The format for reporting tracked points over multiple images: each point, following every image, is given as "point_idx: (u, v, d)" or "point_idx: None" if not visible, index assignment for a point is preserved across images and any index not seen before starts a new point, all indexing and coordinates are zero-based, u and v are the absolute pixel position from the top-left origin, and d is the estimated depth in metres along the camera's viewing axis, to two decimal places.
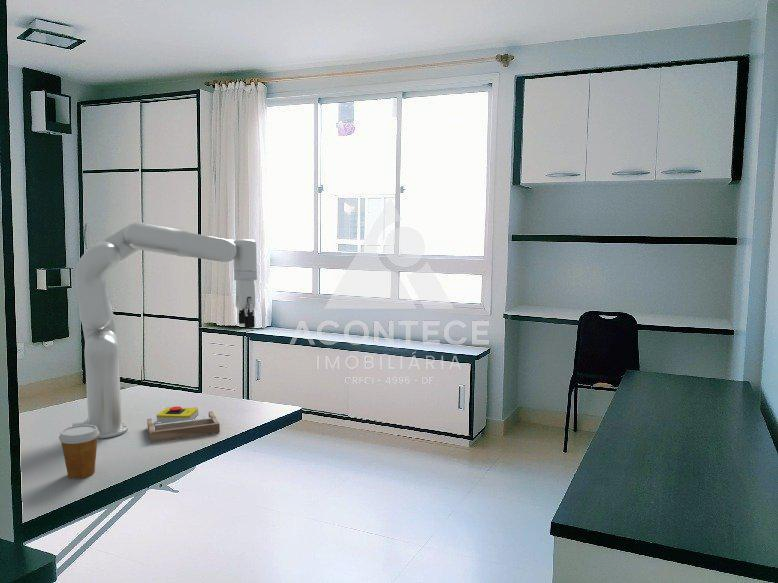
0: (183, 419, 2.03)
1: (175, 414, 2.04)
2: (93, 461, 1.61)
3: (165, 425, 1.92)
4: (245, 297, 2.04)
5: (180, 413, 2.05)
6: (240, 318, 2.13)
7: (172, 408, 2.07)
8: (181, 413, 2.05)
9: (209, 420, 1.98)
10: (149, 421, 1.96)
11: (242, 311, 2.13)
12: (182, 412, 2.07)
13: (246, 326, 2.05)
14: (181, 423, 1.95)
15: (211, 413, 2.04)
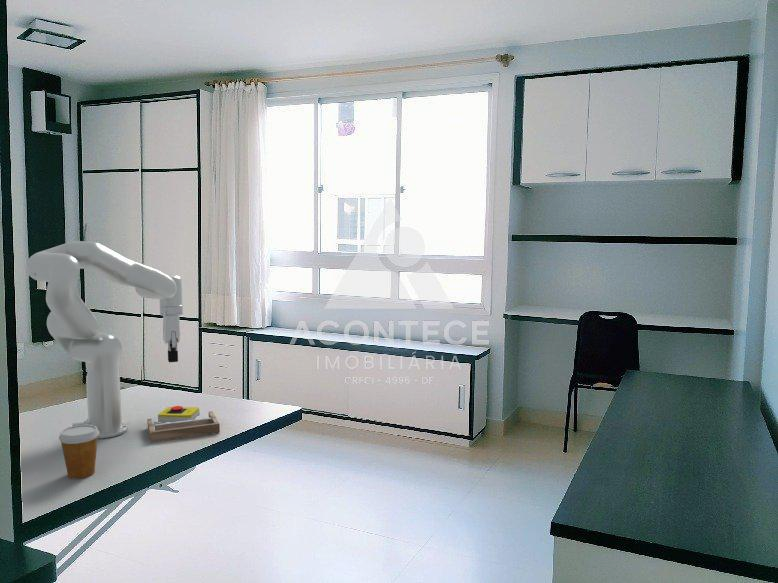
0: (184, 418, 2.04)
1: (176, 413, 2.05)
2: (93, 461, 1.61)
3: (165, 425, 1.92)
4: (169, 332, 2.12)
5: (182, 413, 2.06)
6: None
7: (173, 407, 2.08)
8: (182, 413, 2.06)
9: (209, 420, 1.98)
10: (149, 421, 1.96)
11: None
12: (183, 411, 2.07)
13: (170, 360, 2.17)
14: (181, 423, 1.95)
15: (211, 413, 2.04)
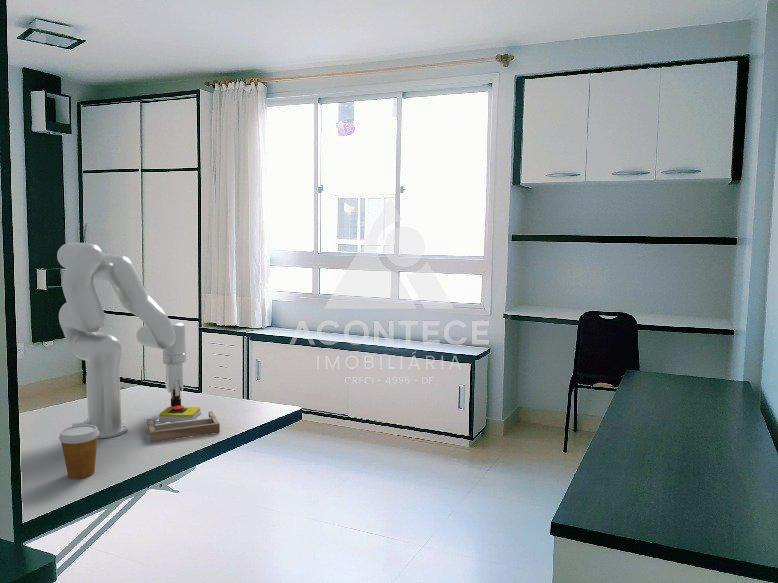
0: (186, 418, 2.04)
1: (178, 413, 2.05)
2: (93, 461, 1.61)
3: (165, 425, 1.92)
4: (173, 381, 2.09)
5: (183, 412, 2.06)
6: None
7: (174, 407, 2.08)
8: (183, 412, 2.06)
9: (209, 420, 1.98)
10: (149, 421, 1.96)
11: None
12: (184, 411, 2.07)
13: None
14: (181, 423, 1.95)
15: (211, 413, 2.04)
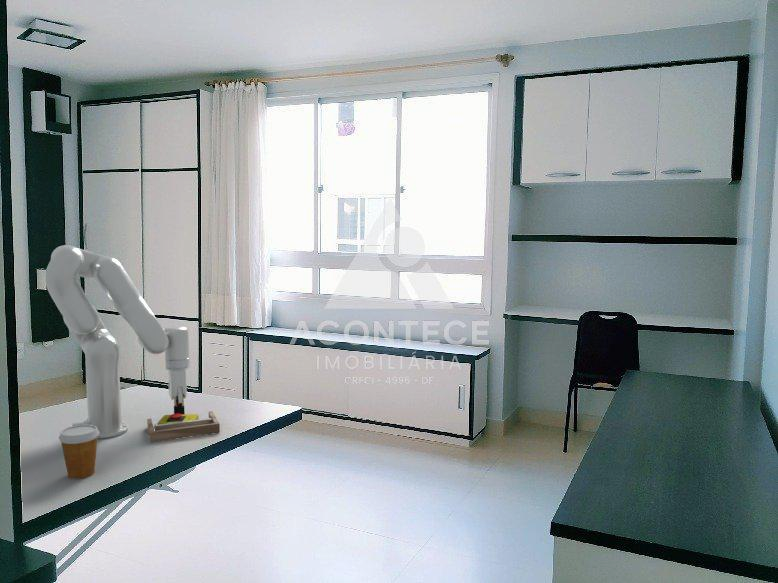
0: None
1: (177, 421, 1.97)
2: (93, 461, 1.61)
3: (165, 426, 1.92)
4: (176, 387, 2.00)
5: (182, 420, 1.98)
6: None
7: (172, 415, 1.99)
8: (183, 420, 1.98)
9: (209, 421, 1.97)
10: (149, 421, 1.96)
11: None
12: (184, 419, 1.99)
13: None
14: (182, 424, 1.94)
15: (211, 413, 2.04)
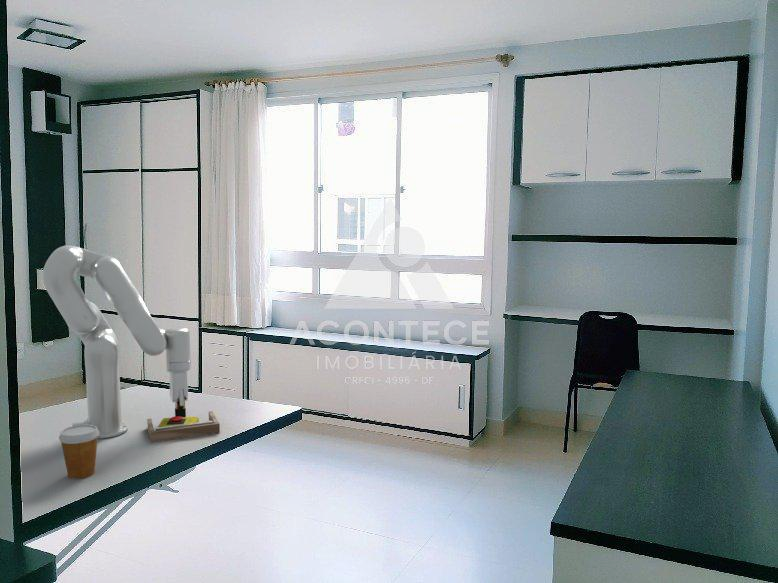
0: None
1: (178, 424, 1.94)
2: (93, 461, 1.61)
3: (166, 428, 1.89)
4: (177, 390, 1.97)
5: (183, 423, 1.95)
6: None
7: (173, 418, 1.96)
8: (184, 423, 1.95)
9: (211, 423, 1.95)
10: (149, 421, 1.96)
11: None
12: (184, 422, 1.97)
13: None
14: (183, 426, 1.91)
15: (211, 413, 2.04)
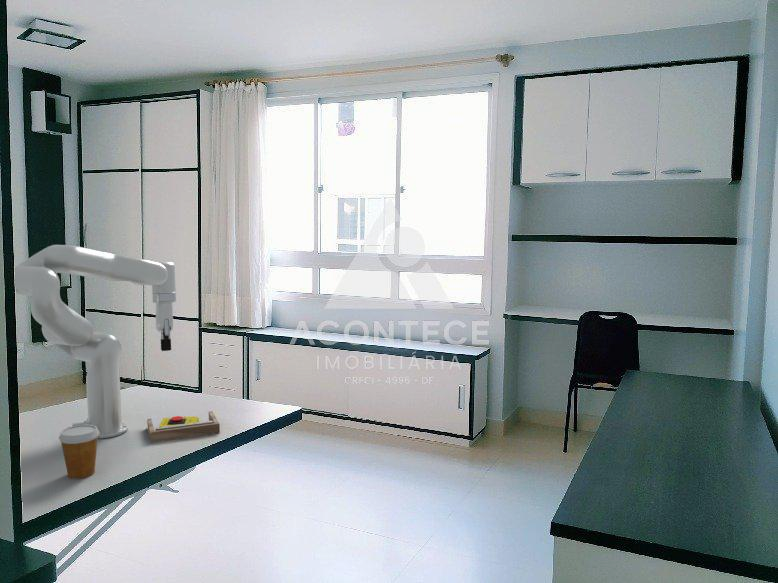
0: None
1: (179, 424, 1.94)
2: (93, 461, 1.61)
3: (166, 428, 1.89)
4: (162, 319, 2.07)
5: (184, 423, 1.95)
6: None
7: (173, 418, 1.96)
8: (185, 423, 1.95)
9: (211, 423, 1.95)
10: (149, 421, 1.96)
11: None
12: (185, 422, 1.97)
13: (162, 349, 2.12)
14: (183, 426, 1.91)
15: (211, 413, 2.04)
